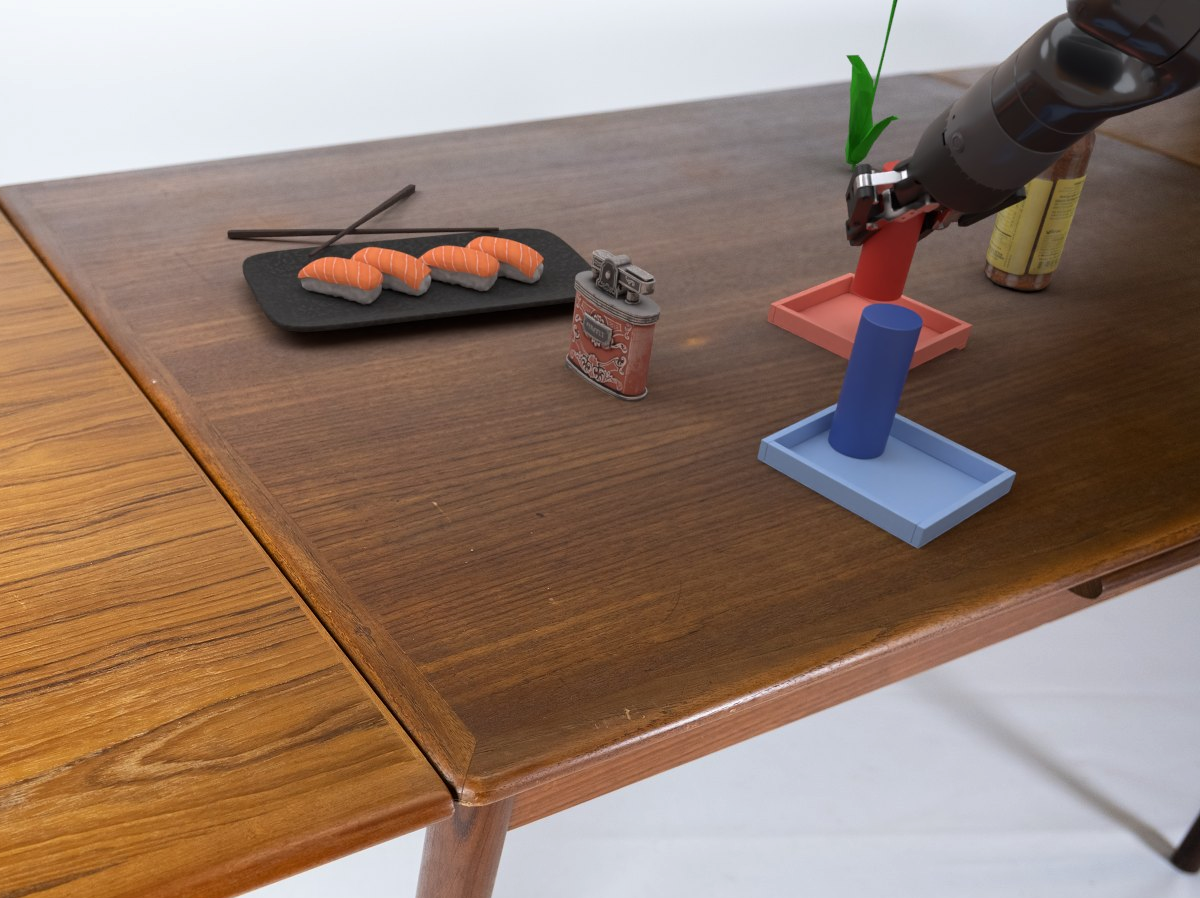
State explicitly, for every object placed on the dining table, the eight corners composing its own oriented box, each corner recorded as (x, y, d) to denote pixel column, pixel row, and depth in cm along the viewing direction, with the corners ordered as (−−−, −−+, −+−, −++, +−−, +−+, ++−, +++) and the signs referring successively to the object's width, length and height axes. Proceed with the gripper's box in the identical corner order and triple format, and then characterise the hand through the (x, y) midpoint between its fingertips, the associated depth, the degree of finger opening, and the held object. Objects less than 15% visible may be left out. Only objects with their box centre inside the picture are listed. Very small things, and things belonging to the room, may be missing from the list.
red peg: (911, 294, 104) (947, 173, 98) (882, 306, 102) (917, 182, 96) (870, 276, 106) (903, 157, 100) (841, 288, 104) (873, 166, 98)
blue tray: (1007, 498, 88) (1016, 472, 87) (915, 555, 82) (924, 528, 81) (849, 418, 96) (856, 393, 94) (755, 465, 89) (761, 439, 88)
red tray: (965, 347, 106) (972, 324, 105) (887, 385, 100) (894, 361, 99) (844, 294, 113) (850, 272, 112) (765, 326, 107) (770, 303, 106)
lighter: (554, 366, 99) (568, 243, 93) (588, 356, 101) (604, 234, 94) (621, 412, 94) (640, 285, 88) (656, 401, 96) (677, 276, 89)
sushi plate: (276, 354, 98) (275, 308, 95) (196, 206, 119) (193, 166, 117) (616, 313, 107) (622, 270, 105) (485, 183, 129) (487, 145, 126)
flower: (905, 173, 139) (990, -141, 121) (870, 190, 134) (953, -134, 116) (835, 151, 143) (907, -156, 125) (798, 167, 138) (868, -150, 120)
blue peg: (895, 448, 91) (935, 319, 85) (862, 465, 89) (901, 335, 83) (849, 424, 94) (885, 297, 87) (816, 441, 91) (850, 312, 85)
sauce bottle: (1045, 271, 120) (1124, 50, 108) (1053, 298, 115) (1137, 70, 103) (974, 261, 121) (1044, 40, 109) (979, 287, 116) (1053, 59, 104)
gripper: (1087, 84, 88) (954, 190, 105) (896, 80, 85) (791, 190, 102) (1101, 188, 87) (964, 278, 104) (909, 187, 85) (801, 280, 101)
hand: (879, 234), depth 103 cm, fingers closed on red peg, 4 cm apart
